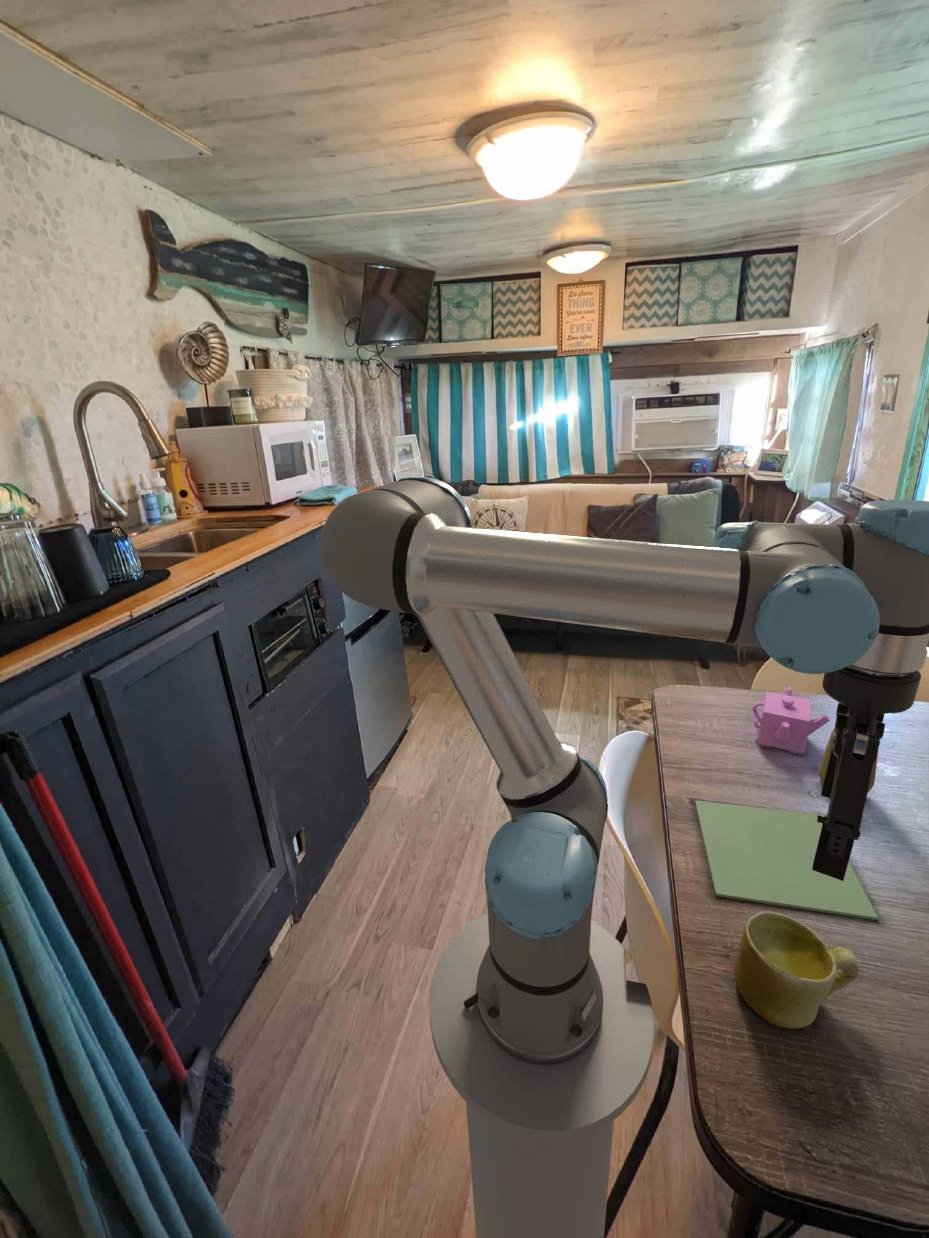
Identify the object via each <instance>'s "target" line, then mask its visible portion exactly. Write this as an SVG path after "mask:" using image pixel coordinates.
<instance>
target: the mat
mask: <svg viewBox="0 0 929 1238" xmlns="http://www.w3.org/2000/svg"><path fill="white" fill-rule="evenodd" d="M694 805H695V809H696V813H697V818H698V823H699V827H700V832H701V836H702V842H703V845H704V849H705V854H706V859H707V864H708V867H709V872H710V877H711V882H712V885H713V886H712V887H713V890H714V891H713V892H714V895H715V897H719V898H726V899H733V900H739V901H747V902H753V903H760V904H765V905H773V906H780V907H785V908H794V909H800V910H806V911H813V912H818V913H820V912H821V913H827V914H833V915H839V916H846V917H853V918H859V919H860V918H861V919H867V920H873V921H879V916H878V913H876V911H875V909H874V907H873V905H872V902H871V901H870V899H869V898H868V897H869V896H868V895H867V893H866V892H865V890H864V888H863V885H862V884H861V882H860V879H859V878H858V876H857V875H856V872H855V870H854V869H853V867H852V865H851V863H850V861H849V862H848V866H847V869H846V873H845V877H844V880H843V881H841V880H839V879H836V878H833V877H830V876H828V875H825V874H822V873H819V872H816V871H814V870H812V866H813V862H814V857H815V853H816V849H817V845H818V841H819V837H820V833H821V828H822V824H823V823H819V822H817V817H818V815H819V816H823V817H824V816H825V814H820V813H819V814H818V813H811V812H801V811H794V810H783V809H777V808H776V809H775V808H767V807H757V806H748V805H741V804H740V805H739V804H731V803H723V802H714V801H705V800H694Z"/></svg>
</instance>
